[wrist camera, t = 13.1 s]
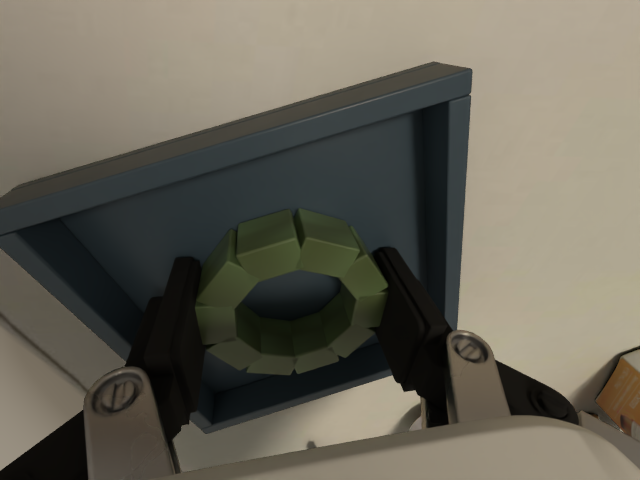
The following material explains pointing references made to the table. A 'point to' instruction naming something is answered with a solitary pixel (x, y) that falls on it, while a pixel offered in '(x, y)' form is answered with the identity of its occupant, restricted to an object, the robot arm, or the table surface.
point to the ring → (278, 259)
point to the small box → (624, 395)
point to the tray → (253, 202)
